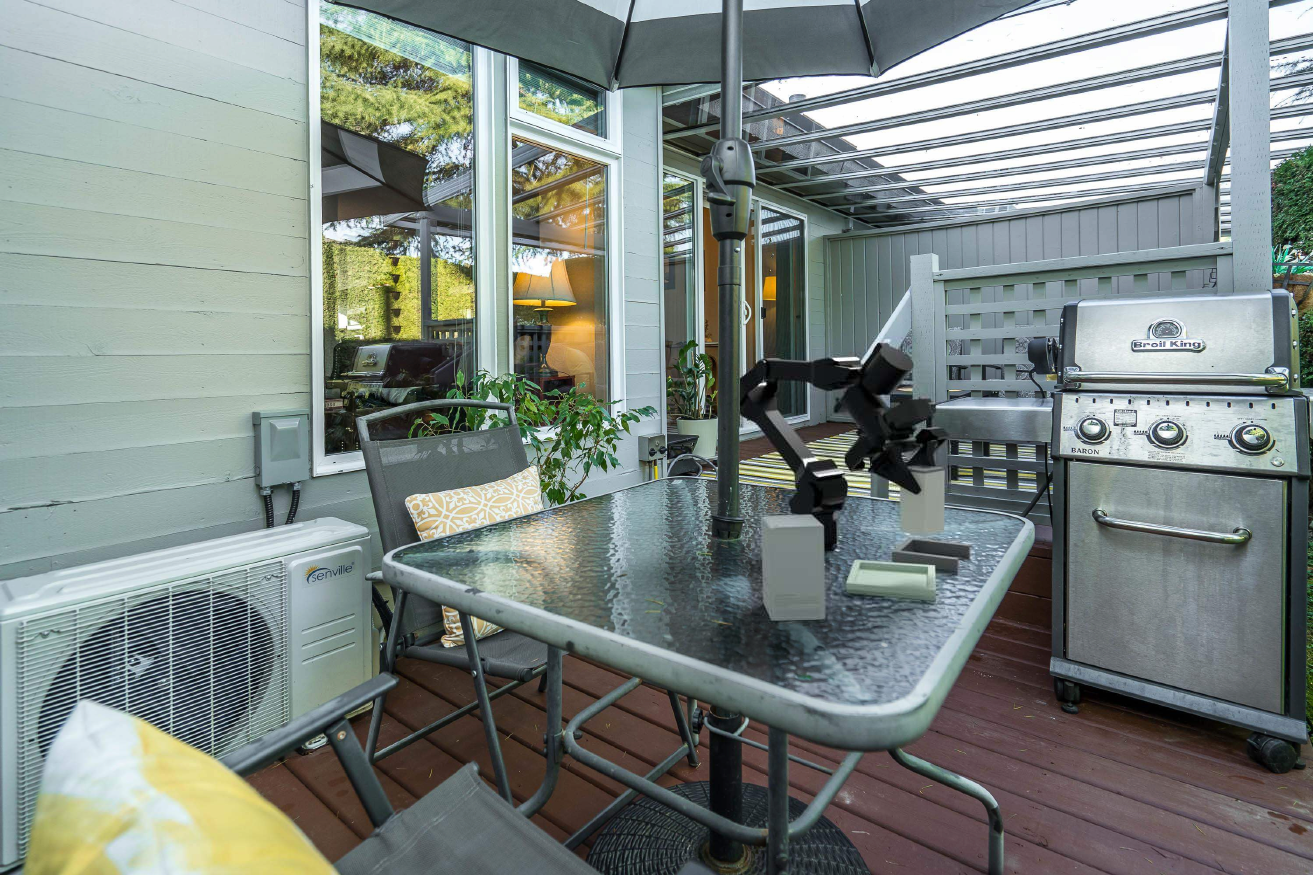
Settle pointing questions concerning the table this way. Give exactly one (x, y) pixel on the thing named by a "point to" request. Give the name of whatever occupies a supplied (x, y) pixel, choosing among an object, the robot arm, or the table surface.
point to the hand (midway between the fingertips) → (929, 490)
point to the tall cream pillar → (924, 502)
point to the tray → (892, 580)
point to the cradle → (932, 546)
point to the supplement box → (793, 567)
